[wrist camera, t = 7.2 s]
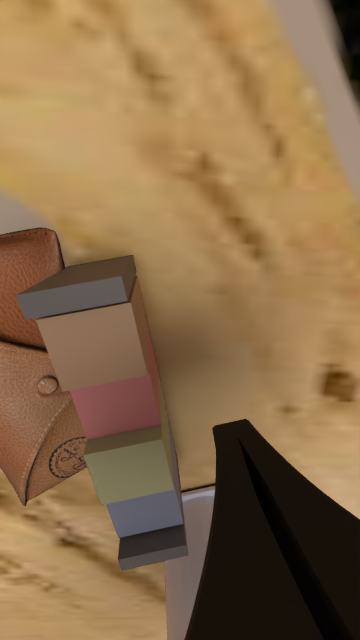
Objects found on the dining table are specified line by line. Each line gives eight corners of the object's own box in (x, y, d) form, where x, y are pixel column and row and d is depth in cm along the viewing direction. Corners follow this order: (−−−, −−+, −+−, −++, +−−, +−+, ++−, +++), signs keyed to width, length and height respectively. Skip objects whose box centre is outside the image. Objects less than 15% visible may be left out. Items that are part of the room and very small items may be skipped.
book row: (177, 460, 23) (188, 555, 16) (130, 469, 23) (122, 570, 16) (132, 255, 17) (121, 276, 10) (68, 266, 17) (15, 295, 10)
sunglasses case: (136, 450, 22) (76, 537, 17) (74, 436, 25) (7, 505, 20) (53, 217, 16) (-85, 233, 10) (-15, 237, 19) (-147, 258, 14)
